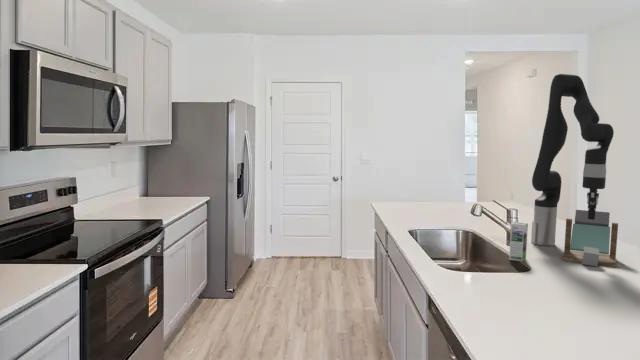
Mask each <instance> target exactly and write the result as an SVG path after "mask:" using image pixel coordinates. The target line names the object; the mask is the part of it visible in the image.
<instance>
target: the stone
mask: <svg viewBox="0 0 640 360" xmlns="http://www.w3.org/2000/svg"><path fill="white" fill-rule="evenodd" d="M598 260H599V249H597V248H591V247H585V246H584V248H583V254H582V263H581V265H586V266H591V267H595V268H596V267H597V268H598V266H599V265H598Z"/></svg>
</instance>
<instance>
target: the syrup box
mask: <svg viewBox="0 0 640 360" xmlns="http://www.w3.org/2000/svg"><path fill="white" fill-rule="evenodd" d="M528 226H529V223H528V222H520V221H518V222H517V221H512V222H511V224H510V243H509V246H510V247H509V257H508V259H509V261H515V262H516V261H517V262H526V260H527V250H528V249H527V247H528V230H529V228H528Z"/></svg>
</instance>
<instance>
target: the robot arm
mask: <svg viewBox="0 0 640 360" xmlns="http://www.w3.org/2000/svg"><path fill="white" fill-rule="evenodd" d="M562 97H566V98H567V97H568V98H570V97H571V98H573V99H574V100H575V103H574V106H573V114H574V117H575V118H576V120H577V122H578V123H579V128H580V135H581V139H583V140H584V141H585V142H588V143H597V144H596V146H595V147H591V148H588V149H586V150H585V154H584V165H583V166H584V167H583V171H582V174H583V176H582V185H581V186H582V188H583V189H589V192H587V194H586V198H587V201H586V203H587V211H588V219H591V220H594V219H595V211H597V206H598V203H599V198H600V193H599V192H598V190H604V189H606V181H607V177H606V176H607V165H606V164H607V155H608V151H609V149H610V145H611V143H612V141H613V138H614V133H615V132H614V128H613V126H612V125H611V124H609V123H605V122H603V123H599V122H600V115H599V114H598V113H597V110H596V109H595V108H594V106H593V104H592V103H591V100H590V98H589V95H588V93H587V90H586V86H585V83H584V81H583V79H582V77H581V76H579V75H577V74H566V73H557V74H555V76H553V78H552V81H551V84H550V90H549V96H548V98H549V99H548V107H547V114H546V120H545V124H544V128H543V132H542V139H541V144H540V149H539V152H538V157H537V160H536V164H535V167H534V170H533V174H532V178H531V184H532V187H533V189H534V190H535V191H537V192H542V193H541V195H540V196H539V197H537V198H535V200H534V206H533V207H534V209H533V221H532V222H531V235H530V236H531V238H530V239H531V240H530V242H531V243H532V244H534V245H539V246H549V247H551V246H555V244H556V233H557V232H556V230H557V217H558V216H557V215H558V203H559V201H560V198H561V192H562V191H561V190H562V177H561V175H560V173H559V172H558V171H555V170H552V169H551V168H552V165H553V162H554V160H555V158H556V157H557V156H558V154H559V153H560V151H561V150H562V149H563V147H564V146H565V143H566V140H567V134H568V129H569V127H568V123H567V121H566V118H565V116H564V113H563V111H562Z"/></svg>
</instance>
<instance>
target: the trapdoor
mask: <svg viewBox="0 0 640 360" xmlns="http://www.w3.org/2000/svg"><path fill="white" fill-rule="evenodd" d="M610 214H611V213H610V211H609V212H608V211H597V210H595V219H594V220H591V219H588V210H582V209H575V216H574V223H572V230H571V246H570V250H575V251H583V248H584V246H585V247H591V248H597V249H599V253H600V254H608V255H610V244H611V226H610Z"/></svg>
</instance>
